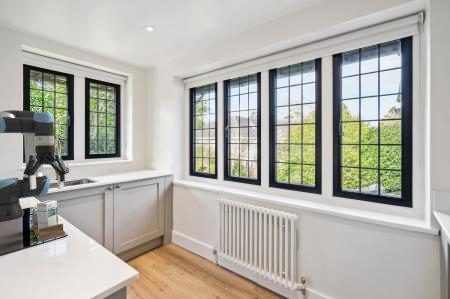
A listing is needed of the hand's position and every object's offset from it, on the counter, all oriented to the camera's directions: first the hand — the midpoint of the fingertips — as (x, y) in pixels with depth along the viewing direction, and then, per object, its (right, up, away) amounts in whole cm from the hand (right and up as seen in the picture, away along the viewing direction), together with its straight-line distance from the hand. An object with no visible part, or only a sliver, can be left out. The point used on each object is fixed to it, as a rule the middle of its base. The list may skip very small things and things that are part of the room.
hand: (47, 188), depth 113 cm
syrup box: (0, -21, +1) cm, 21 cm away
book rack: (-2, -22, +3) cm, 23 cm away
